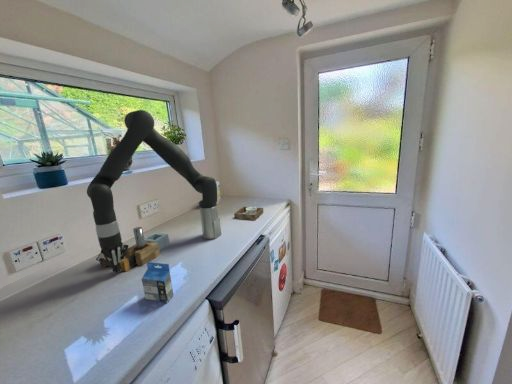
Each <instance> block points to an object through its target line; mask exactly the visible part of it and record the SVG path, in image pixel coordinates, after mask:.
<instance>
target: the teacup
mask: <svg viewBox="0 0 512 384" xmlns="http://www.w3.org/2000/svg"><path fill="white" fill-rule="evenodd" d="M247 207H248V208H246V212H245V214H255V213H257V212H256V210H257V208H258V207H257V208H256V206H247Z"/></svg>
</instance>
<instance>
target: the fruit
mask: <svg viewBox="0 0 512 384" xmlns="http://www.w3.org/2000/svg"><path fill="white" fill-rule="evenodd" d="M100 255H101V252H100V253H98V255H97V257H99V256H100ZM104 257H105V258H106V259H105V260H107V261H109V260H108V258H107V257H106V256H104ZM99 264H100V265H101V266H102V267H103V268H105V267H107V266H108V265H105V264H103V263H101V262H99Z"/></svg>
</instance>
